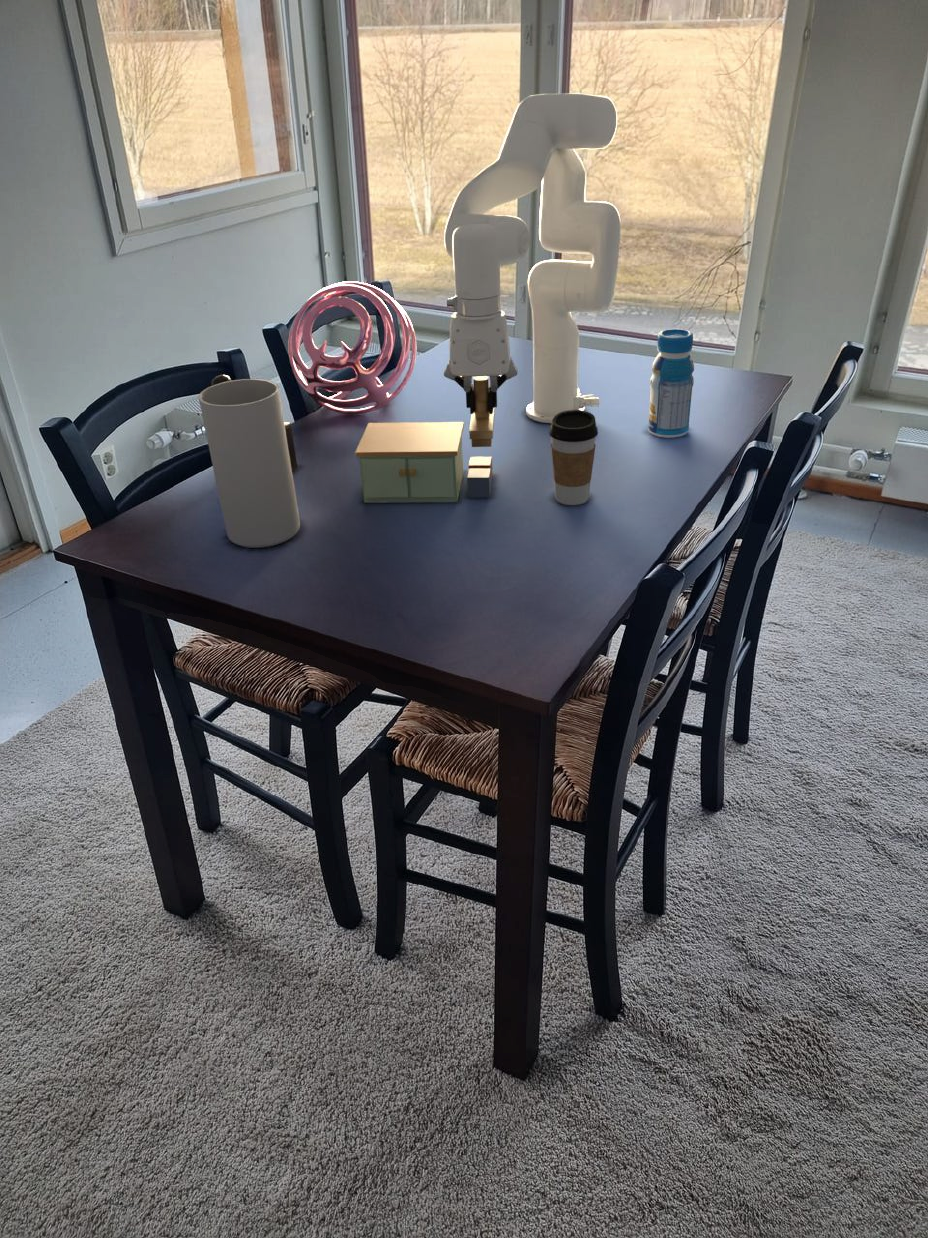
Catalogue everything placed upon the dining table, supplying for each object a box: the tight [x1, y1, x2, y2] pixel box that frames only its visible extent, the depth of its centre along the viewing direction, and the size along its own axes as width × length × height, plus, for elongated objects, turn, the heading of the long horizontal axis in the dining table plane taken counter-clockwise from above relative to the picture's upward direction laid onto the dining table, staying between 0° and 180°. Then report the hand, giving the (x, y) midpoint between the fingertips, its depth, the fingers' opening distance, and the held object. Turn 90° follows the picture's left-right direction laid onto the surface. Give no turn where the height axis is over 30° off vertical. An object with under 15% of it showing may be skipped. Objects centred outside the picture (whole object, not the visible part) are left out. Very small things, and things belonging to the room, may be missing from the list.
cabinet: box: [354, 421, 465, 504], centre depth 171 cm, size 18×15×10 cm
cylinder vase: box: [198, 378, 301, 549], centre depth 154 cm, size 12×12×25 cm
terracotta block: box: [468, 456, 493, 482], centre depth 174 cm, size 4×4×4 cm
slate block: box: [466, 467, 493, 499], centre depth 169 cm, size 4×4×4 cm
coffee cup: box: [548, 410, 599, 506], centre depth 163 cm, size 8×8×15 cm
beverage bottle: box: [647, 328, 695, 439], centre depth 186 cm, size 8×8×20 cm
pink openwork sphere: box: [287, 281, 418, 415], centre depth 205 cm, size 28×28×27 cm
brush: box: [468, 376, 496, 448], centre depth 164 cm, size 4×13×10 cm, turn 177°
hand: (482, 410), depth 165 cm, fingers closed on brush, 2 cm apart
